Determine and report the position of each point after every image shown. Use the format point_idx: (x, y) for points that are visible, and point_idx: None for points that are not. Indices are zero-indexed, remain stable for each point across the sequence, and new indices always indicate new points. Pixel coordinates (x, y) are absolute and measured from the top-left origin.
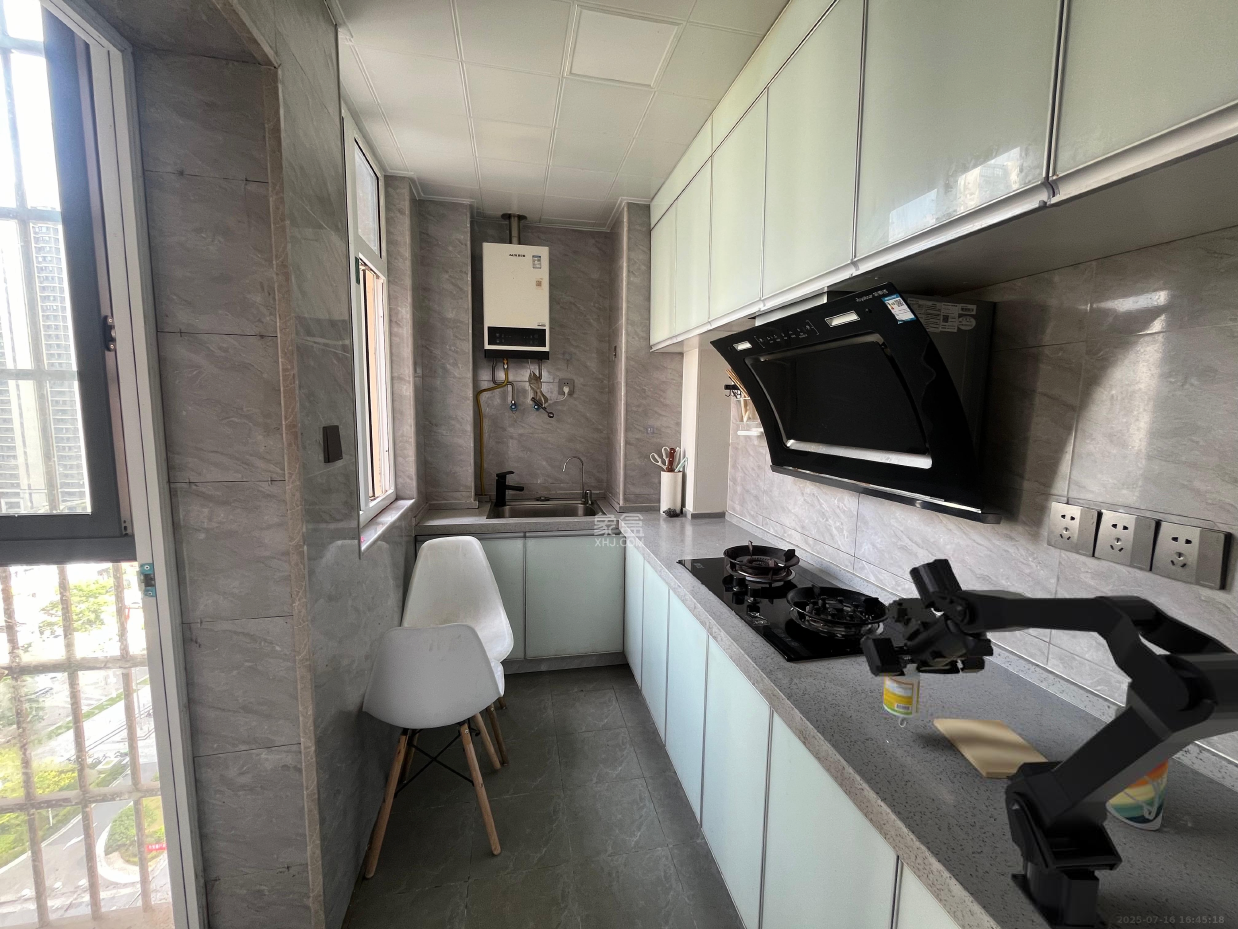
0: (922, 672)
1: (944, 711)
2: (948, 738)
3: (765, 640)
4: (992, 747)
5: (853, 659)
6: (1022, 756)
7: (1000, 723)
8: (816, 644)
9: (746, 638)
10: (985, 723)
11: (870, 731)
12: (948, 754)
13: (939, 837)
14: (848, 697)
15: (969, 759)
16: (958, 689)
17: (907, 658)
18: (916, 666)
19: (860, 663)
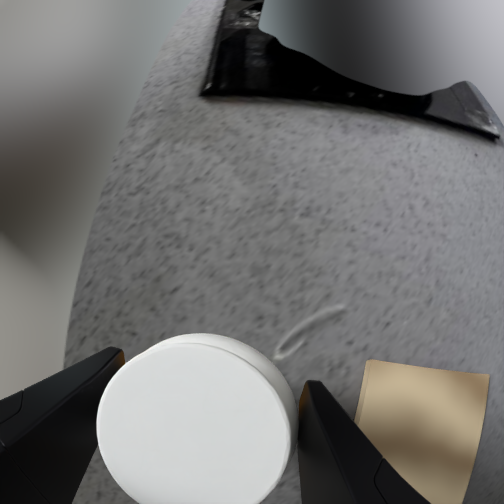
0: (300, 478)
1: (421, 318)
2: (354, 420)
3: (211, 51)
4: (409, 471)
5: (343, 116)
6: (437, 493)
7: (484, 386)
8: (299, 71)
9: (183, 46)
10: (461, 386)
11: None
12: None
13: None
14: (230, 221)
15: None
16: (483, 251)
17: (201, 469)
18: (307, 431)
19: (349, 129)
